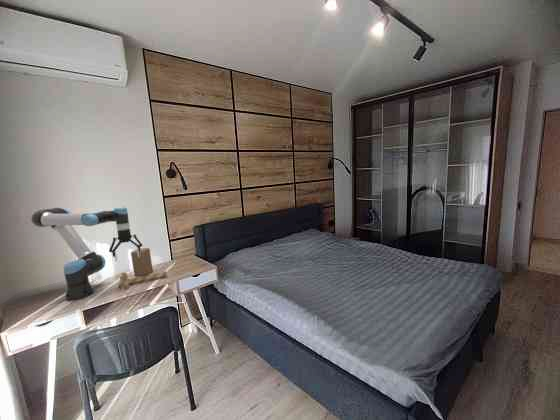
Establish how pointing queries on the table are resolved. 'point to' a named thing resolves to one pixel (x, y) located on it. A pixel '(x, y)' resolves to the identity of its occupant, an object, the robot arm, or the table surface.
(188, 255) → the table surface
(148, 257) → the wooden block
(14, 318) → the table surface
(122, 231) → the robot arm
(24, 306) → the table surface
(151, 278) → the board
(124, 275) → the gauge
